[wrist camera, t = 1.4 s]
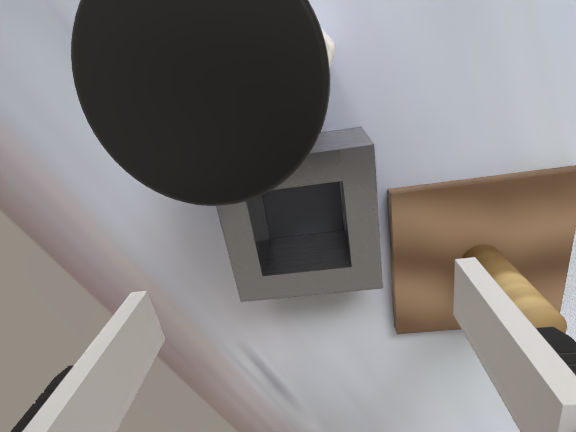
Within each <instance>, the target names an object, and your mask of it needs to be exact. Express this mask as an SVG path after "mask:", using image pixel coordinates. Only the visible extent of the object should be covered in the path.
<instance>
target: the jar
mask: <svg viewBox="0 0 576 432" xmlns="http://www.w3.org/2000/svg"><path fill="white" fill-rule="evenodd" d="M334 53H335V43H334V42H333V41H332V39H331V38H330V37H329V36H328V35H327V34H326V33H325V31H324V30H323V29H322V28H321V27H320V24H319V21H318V19H317V17H316V15H315V12H314V10H313V8H312V6H311V5H310V3H309V1H308V0H80V3H79V6H78V9H77V13H76V16H75V21H74V26H73V32H72V42H71V60H72V71H73V77H74V83H75V87H76V91H77V95H78V98H79V101H80V104H81V107H82V110H83V112H84V114H85V116H86V119H87V121H88V123H89V125H90V126H91V128H92V130H93V132H94V134H95V135H96V137H97V138H98V140H99V141H100V143H101V144H102V146H103V147H104V148H105V149H106V151H107V152H108V153H109V155H110V156H111V157H112V158H113V159H114V160H115V161H116V162H117V163H118V164H119V165H120V166H121V167H122V168H123V169H124V170H125V171H126V172H127V173H129V174H130V175H131V176H132V177H134V178H135V179H136V180H138V181H139V182H141V183H142V184H144V185H145V186H147V187H149V188H150V189H152V190H154V191H156V192H158V193H160V194H162V195H164V196H167V197H170V198H172V199H175V200H178V201H182V202H186V203H190V204H196V205H206V206H223V205H232V204H237V203H242V202H245V201H248V200H252V199H254V198H257V197H259V196H262V195H264V194H265V193H267V192H269V191H271V190H273V189H274V188H276V187H277V186H279V185H280V184H281V183H283V182H284V181H285V180H286V179H288V178H289V177H290V176H291V175H292V174H293V173H294V172H295V171H296V170H297V169H298V168H299V167H300V165H301V164H302V163H303V162H304V160H305V159H306V158H307V156H308V155H309V153H310V152H311V150H312V148H313V147H314V145H315V143H316V141H317V139H318V136H319V134H320V132H321V129H322V126H323V123H324V120H325V116H326V112H327V107H328V102H329V94H330V67H331V63H332V60H333V56H334Z"/></svg>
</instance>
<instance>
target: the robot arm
mask: <svg viewBox="0 0 576 432" xmlns="http://www.w3.org/2000/svg"><path fill="white" fill-rule="evenodd" d="M453 315H454V316H455V318H456V320H457V322H458V323H459V325H460V327H461V329H462V330H463V332H464V334H465V336H466V337H467V339H468V341H469V343H470V344H471V346H472V348H473V350H474V351H475V353H476V355H477V357H478V358H479V360H480V362H481V364H482V365H483V367H484V369H485V371H486V372H487V374H488V376H489V378H490V379H491V381H492V383H493V385H494V386H495V388H496V390H497V392H498V393H499V395H500V397H501V399H502V400H503V402H504V404H505V406H506V407H507V409H508V411H509V413H510V414H511V416H512V418H513V420H514V421H515V423H516V425H517V427H518V428H519V430H520V432H576V342H575V341H574V340H573V339H572V338H571V337H570V336H568V335H566V334H565V333H563V332H561V331H560V330H558V329H557V328H555V327H541V328H535V327H534V326H533V325H532V324H531V322H530V321H529V320H528V319H527V318H526V317H525V315H524V314H523V313H522V312H521V311H520V309H519V308H518V307H517V306H516V305H515V304H514V302H513V301H512V300H511V299H510V298H509V297H508V295H507V294H506V293H505V292H504V291H503V290H502V288H501V287H500V286H499V285H498V284H497V282H496V281H495V280H494V279H493V278H492V277H491V275H490V274H489V273H488V272H487V271H486V270H485V268H484V267H483V266H482V265H481V264H480V263H479V261H478V260H477V259H476V258H475V257H472V258H462V259H455V276H454V311H453ZM164 341H165V337H164V334H163V331H162V329H161V326H160V323H159V321H158V318H157V315H156V313H155V310H154V307H153V304H152V302H151V299H150V296H149V294H148V291H140V292H131V293H130V295H129V296H128V297H127V298H126V300H125V301H124V302H123V304H122V305H121V306H120V307H119V309H118V310H117V311H116V313H115V314H114V315H113V316H112V318H111V319H110V320H109V321H108V323H107V324H106V325H105V327H104V328H103V330H102V331H101V332H100V333H99V334H98V336H97V337H96V338H95V340H94V341H93V342H92V343H91V345H90V346H89V347H88V348H87V350H86V351H85V352H84V353H83V355H82V356H81V357H80V359H79V360H78V361H77V362H76V364H75V365H74V366H68V367H67V368H66V369H65V370H63V371H62V372H61V373H60V374H58V375H57V376H56V377H55V378H54V379H53V380H52V381H51V383H50V384H49V385H48V386H47V388H46V389H45V391H44V393H42V394H41V395H40V396H39V398H38V399H37V400H36V403H35V404H33V405H32V406H31V407H30V409H29V410H28V411H27V412H26V413H25V415H24V416H23V417H22V419H21V420H20V421H19V422H18V423H17V425H16V426H15V427H14V428H13V429H12V431H11V432H117V430H118V428H119V426H120V424H121V422H122V420H123V418H124V417H125V415H126V413H127V411H128V409H129V407H130V405H131V403H132V401H133V399H134V398H135V395H136V394H137V392H138V390H139V388H140V386H141V384H142V382H143V381H144V379H145V377H146V375H147V373H148V371H149V369H150V367H151V365H152V363H153V361H154V360H155V358H156V356H157V354H158V352H159V350H160V348H161V346H162V344H163V342H164Z"/></svg>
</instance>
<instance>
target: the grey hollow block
mask: <svg viewBox="0 0 576 432" xmlns="http://www.w3.org/2000/svg"><path fill="white" fill-rule="evenodd" d="M338 181H339V184H340V194H341V203H342V213H343V223H344V230H342V231H333V232H324V233H316V234H307V235H298V236H290V237H281V238H272V239H270V234H269V229H268V224H267V219H266V214H265V209H264V204H263V199H262V196H259V197H257V198H254V199H252V200H248V201H245V202H242V203H237V204H232V205H223V206H216V207H217V211H218V215H219V219H220V223H221V226H222V230H223V234H224V238H225V242H226V246H227V250H228V254H229V258H230V261H231V265H232V269H233V273H234V277H235V281H236V285H237V289H238V292H239V296H240V300H241V302H244V301H255V300H265V299H275V298H286V297H296V296H307V295H317V294H328V293H338V292H348V291H359V290H369V289H380V288H383V284H382V267H381V251H380V234H379V218H378V201H377V185H376V168H375V152H374V144H373V142H372V141H371V140H370V138H369V137H368V136H367V134H366V133H365V132H364V130H363V129H362V127H358V128H351V129H344V130H337V131H330V132H324V133H320V134H319V136H318V139H317V141H316V143H315V145H314V147H313V148H312V150H311V152H310V153H309V155H308V156H307V158H306V159H305V160H304V162H303V163H302V164H301V165H300V167H299V168H298V169H297V170H296V171H295V172H294V173H293V174H292V175H291V176H290V177H289V178H288V179H286V180H285V181H284V182H283V183H281V184H280V185H279V186H277V187H276V188H274V189H273V190H277V189H285V188H292V187H300V186H308V185H315V184H323V183H331V182H338Z"/></svg>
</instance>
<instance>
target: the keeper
mask: <svg viewBox="0 0 576 432" xmlns="http://www.w3.org/2000/svg"><path fill="white" fill-rule="evenodd" d="M388 202H389V223H390V244H391V265H392V286H393V308H394V326H395V329H396V332H397V334H405V333H417V332H430V331H442V330H454V329H461V327H460V325H459V323H458V322H457V320H456V318H455V316H454V315H453V311H454V276H455V259H462V258H472V257H475V258H476V259H477V260H478V261H479V263H480V264H481V265H482V266H483V267H484V268H485V270H486V271H487V272H488V273H489V274H490V275H491V277H492V278H493V279H494V280H495V281H496V282H497V284H498V285H499V286H500V287H501V288H502V290H503V291H504V292H505V293H506V294H507V295H508V297H509V298H510V299H511V300H512V301H513V302H514V304H515V305H516V306H517V307H518V308H519V309H520V311H521V312H522V313H523V314H524V315H525V317H526V318H527V319H528V320H529V321H530V322H531V324H532V325H533V326H534V327H535V328H541V327H555V328H557V329H558V330H560V331H561V332H563V333H565V332H566V329H567V323H566V320H565V319H564V317H563V316H562V315H561V314H560V309H561V304H562V299H563V293H564V288H565V283H566V277H567V272H568V266H569V261H570V256H571V250H572V245H573V239H574V234H575V229H576V166H568V167H560V168H552V169H544V170H536V171H528V172H521V173H513V174H505V175H497V176H489V177H481V178H473V179H465V180H457V181H450V182H442V183H434V184H426V185H418V186H410V187H402V188H394V189H388Z"/></svg>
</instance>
